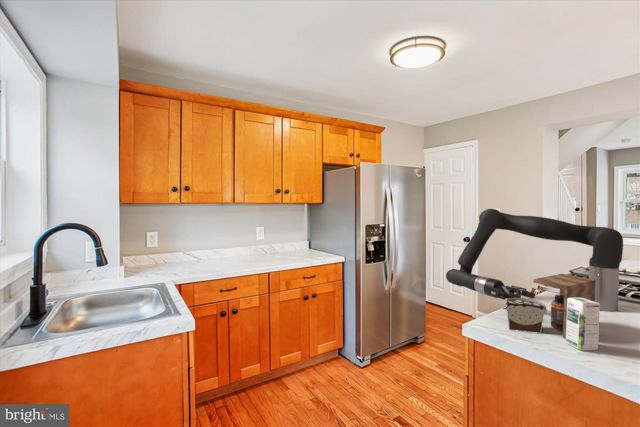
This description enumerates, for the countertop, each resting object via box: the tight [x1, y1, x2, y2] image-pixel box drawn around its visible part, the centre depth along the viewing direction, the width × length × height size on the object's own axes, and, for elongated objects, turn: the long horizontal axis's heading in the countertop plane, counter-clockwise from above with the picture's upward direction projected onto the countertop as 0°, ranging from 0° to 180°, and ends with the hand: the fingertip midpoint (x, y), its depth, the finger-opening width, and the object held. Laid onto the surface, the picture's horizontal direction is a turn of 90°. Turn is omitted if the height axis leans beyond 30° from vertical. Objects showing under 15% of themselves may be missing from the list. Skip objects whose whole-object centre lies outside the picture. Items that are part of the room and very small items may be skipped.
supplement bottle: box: [550, 294, 564, 332], centre depth 110 cm, size 6×6×11 cm
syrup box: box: [565, 297, 601, 352], centre depth 97 cm, size 6×6×14 cm
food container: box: [504, 297, 548, 334], centre depth 111 cm, size 12×6×10 cm, turn 71°
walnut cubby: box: [532, 273, 596, 340], centre depth 110 cm, size 18×10×17 cm, turn 116°
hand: (527, 297), depth 121 cm, fingers open, 8 cm apart
